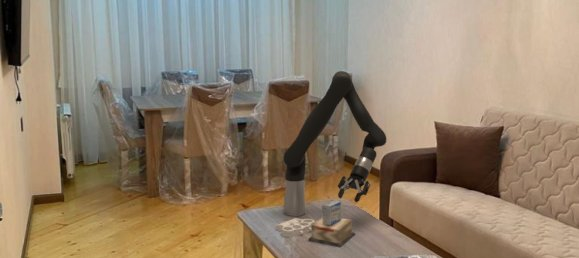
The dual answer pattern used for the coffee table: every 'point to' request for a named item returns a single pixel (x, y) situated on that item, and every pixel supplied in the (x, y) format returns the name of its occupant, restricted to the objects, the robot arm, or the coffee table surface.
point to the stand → (332, 232)
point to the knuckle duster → (295, 227)
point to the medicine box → (331, 212)
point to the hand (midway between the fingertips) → (347, 199)
